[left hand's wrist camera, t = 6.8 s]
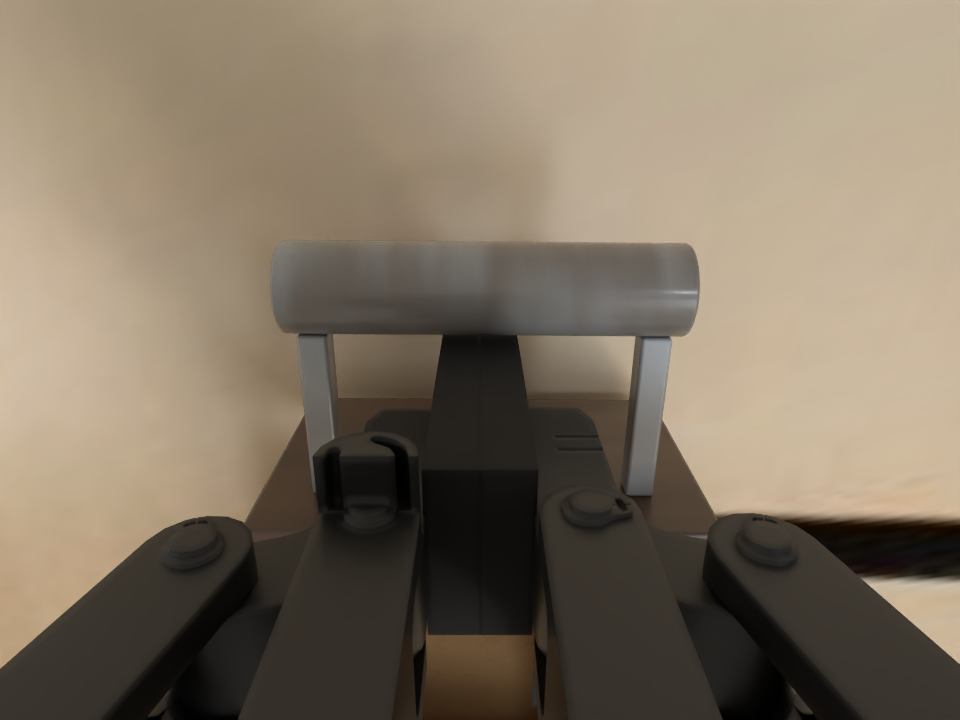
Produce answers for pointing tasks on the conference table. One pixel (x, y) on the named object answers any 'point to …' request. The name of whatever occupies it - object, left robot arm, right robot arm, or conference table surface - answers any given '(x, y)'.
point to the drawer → (527, 311)
